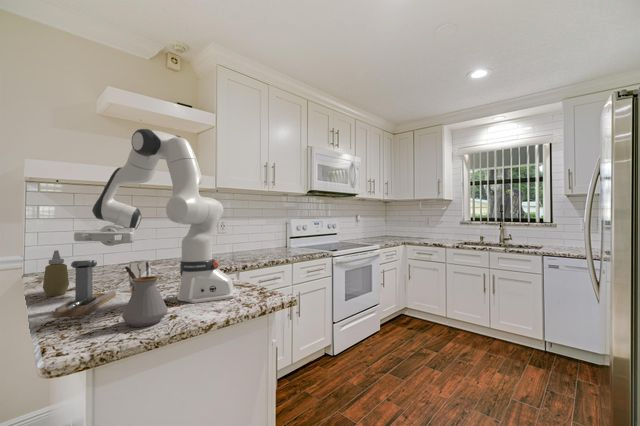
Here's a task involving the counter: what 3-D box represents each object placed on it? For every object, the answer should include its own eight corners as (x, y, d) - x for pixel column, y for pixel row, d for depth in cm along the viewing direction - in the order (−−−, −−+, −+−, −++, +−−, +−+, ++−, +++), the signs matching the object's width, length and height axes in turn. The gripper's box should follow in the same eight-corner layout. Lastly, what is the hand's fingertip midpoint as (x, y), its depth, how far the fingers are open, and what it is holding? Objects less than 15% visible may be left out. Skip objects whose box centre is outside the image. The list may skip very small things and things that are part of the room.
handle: (99, 299, 106) (99, 259, 106) (83, 309, 94) (83, 263, 95) (75, 301, 104) (75, 260, 104) (55, 311, 92) (55, 265, 93)
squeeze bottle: (42, 294, 121) (42, 250, 122) (68, 291, 127) (68, 249, 127) (42, 298, 115) (42, 252, 116) (69, 294, 121) (69, 250, 121)
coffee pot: (174, 320, 88) (174, 270, 88) (131, 332, 79) (131, 276, 79) (144, 308, 101) (144, 263, 102) (104, 317, 92) (104, 268, 93)
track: (115, 295, 118) (115, 289, 118) (86, 314, 95) (86, 306, 95) (89, 297, 116) (89, 291, 116) (52, 317, 93) (52, 309, 93)
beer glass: (140, 306, 103) (140, 263, 103) (123, 305, 104) (123, 262, 105) (155, 301, 110) (155, 260, 110) (139, 300, 111) (139, 260, 112)
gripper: (83, 227, 124) (65, 229, 111) (138, 228, 130) (128, 230, 117) (82, 242, 124) (65, 246, 111) (138, 242, 130) (128, 246, 117)
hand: (98, 238), depth 114 cm, fingers open, 8 cm apart
